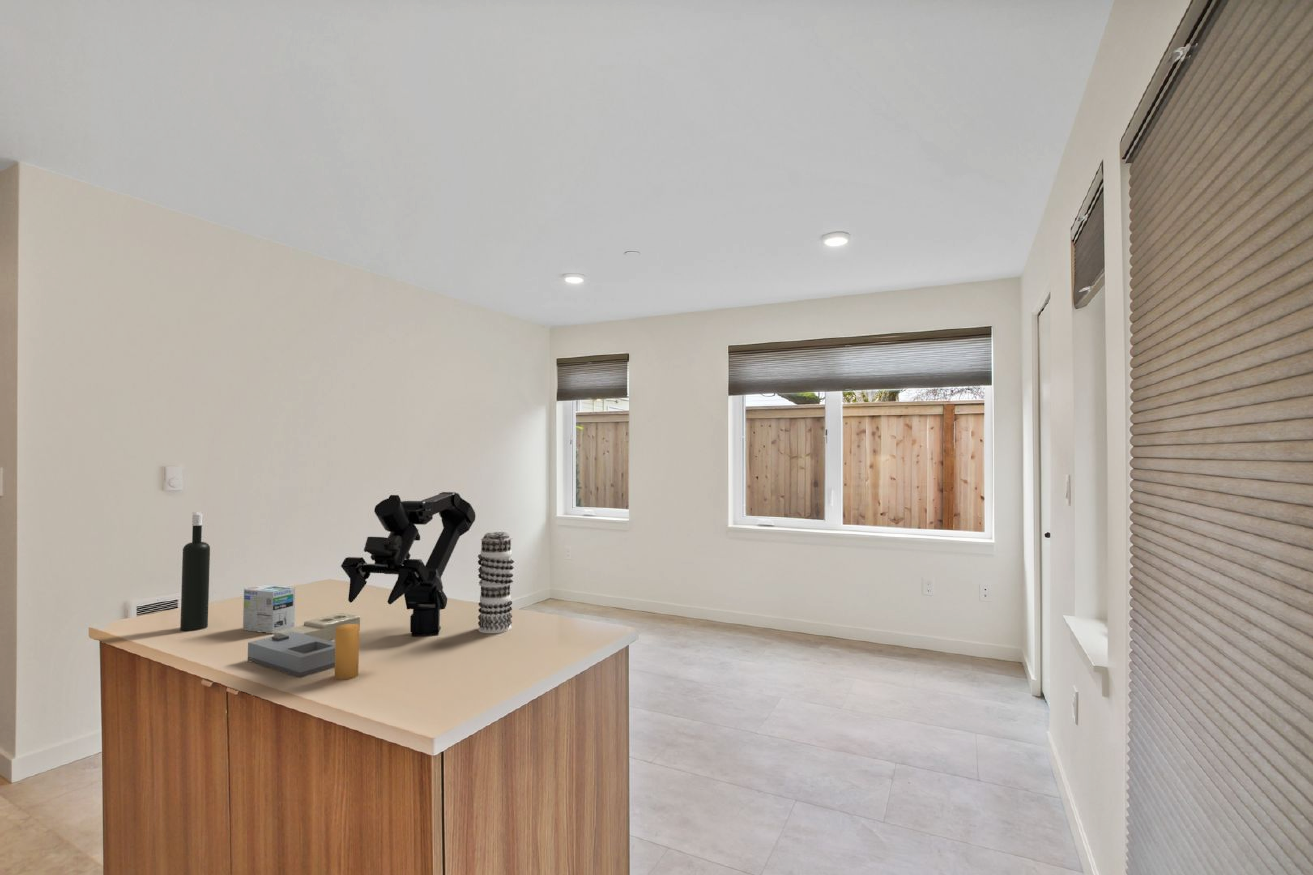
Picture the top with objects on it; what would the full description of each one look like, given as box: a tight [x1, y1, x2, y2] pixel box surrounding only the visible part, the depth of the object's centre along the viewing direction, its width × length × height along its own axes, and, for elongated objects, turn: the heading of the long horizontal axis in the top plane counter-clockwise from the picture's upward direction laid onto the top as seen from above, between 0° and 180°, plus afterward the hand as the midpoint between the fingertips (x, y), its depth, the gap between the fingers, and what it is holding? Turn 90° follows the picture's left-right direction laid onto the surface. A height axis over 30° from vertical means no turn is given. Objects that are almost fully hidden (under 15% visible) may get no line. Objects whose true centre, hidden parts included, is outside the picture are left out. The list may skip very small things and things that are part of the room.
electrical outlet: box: [273, 612, 361, 641], centre depth 155 cm, size 7×4×18 cm
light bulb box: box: [242, 584, 296, 634], centre depth 163 cm, size 11×7×11 cm, turn 71°
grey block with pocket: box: [247, 632, 335, 678], centre depth 137 cm, size 20×10×5 cm, turn 60°
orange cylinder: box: [334, 624, 360, 681], centre depth 129 cm, size 4×4×10 cm
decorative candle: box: [477, 531, 515, 634], centre depth 165 cm, size 9×9×25 cm
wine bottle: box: [179, 511, 211, 632], centre depth 164 cm, size 6×6×30 cm
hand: (369, 602), depth 136 cm, fingers open, 9 cm apart
